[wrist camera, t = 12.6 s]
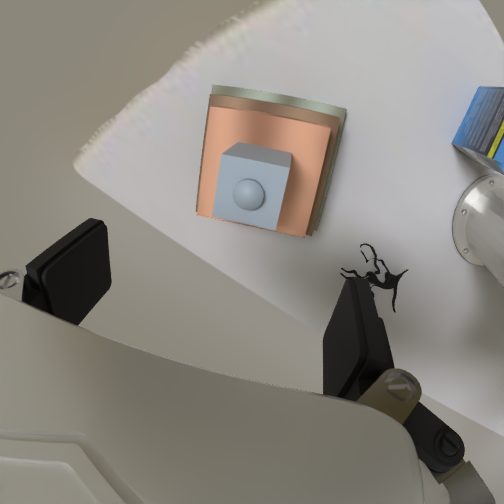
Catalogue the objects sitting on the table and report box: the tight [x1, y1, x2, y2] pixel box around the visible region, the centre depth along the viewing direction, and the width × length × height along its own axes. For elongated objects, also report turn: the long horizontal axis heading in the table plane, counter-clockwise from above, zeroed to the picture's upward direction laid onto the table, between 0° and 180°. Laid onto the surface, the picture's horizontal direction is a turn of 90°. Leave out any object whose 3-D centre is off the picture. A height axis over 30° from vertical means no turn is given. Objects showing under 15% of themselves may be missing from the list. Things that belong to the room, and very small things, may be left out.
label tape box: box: [452, 87, 504, 175], centre depth 21 cm, size 9×4×12 cm, turn 156°
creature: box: [340, 244, 408, 312], centre depth 36 cm, size 8×5×8 cm
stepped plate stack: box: [196, 85, 347, 238], centre depth 29 cm, size 14×14×8 cm
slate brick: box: [212, 142, 292, 231], centre depth 23 cm, size 4×4×7 cm
